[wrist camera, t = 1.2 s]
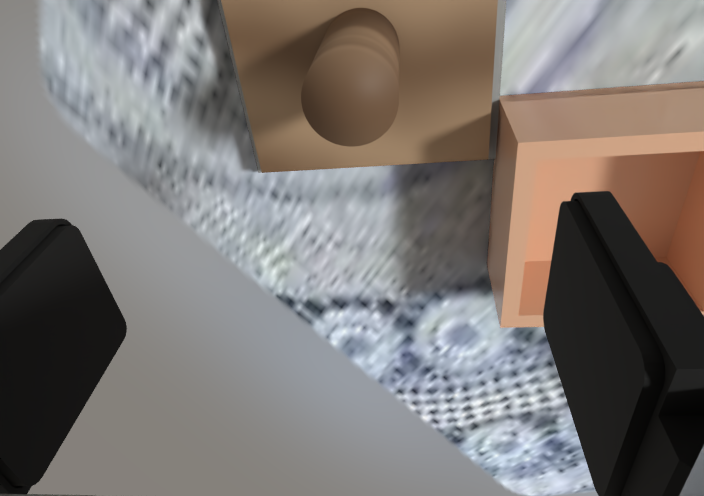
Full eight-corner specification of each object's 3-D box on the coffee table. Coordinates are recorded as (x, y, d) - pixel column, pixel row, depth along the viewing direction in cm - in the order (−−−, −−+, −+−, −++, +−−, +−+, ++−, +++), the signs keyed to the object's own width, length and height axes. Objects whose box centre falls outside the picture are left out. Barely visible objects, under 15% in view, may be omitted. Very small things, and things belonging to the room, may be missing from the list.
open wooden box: (498, 96, 24) (518, 142, 20) (732, 78, 22) (805, 125, 18) (486, 265, 29) (500, 327, 25) (672, 259, 28) (716, 323, 24)
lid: (207, -94, 20) (130, -78, 14) (501, -131, 18) (545, -130, 13) (266, 163, 26) (229, 244, 20) (485, 150, 25) (510, 232, 19)
